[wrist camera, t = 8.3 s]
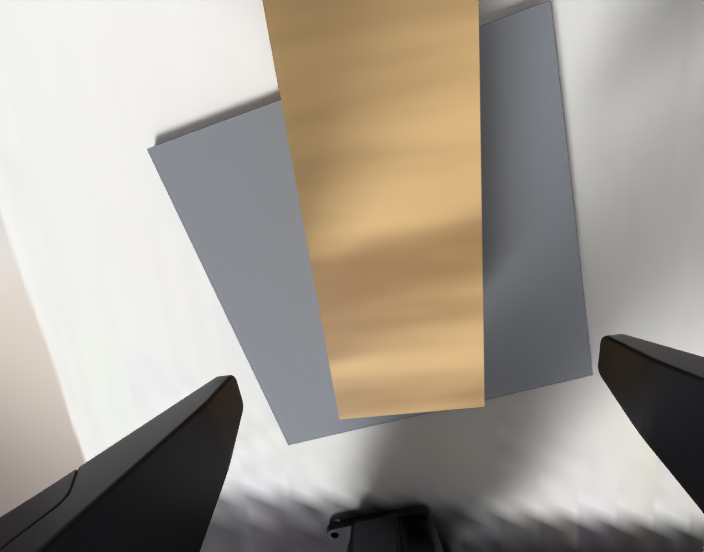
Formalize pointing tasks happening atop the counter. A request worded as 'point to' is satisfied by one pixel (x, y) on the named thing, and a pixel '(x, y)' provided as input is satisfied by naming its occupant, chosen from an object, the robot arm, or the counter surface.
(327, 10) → the wood block
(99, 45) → the counter surface
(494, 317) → the slate mat
